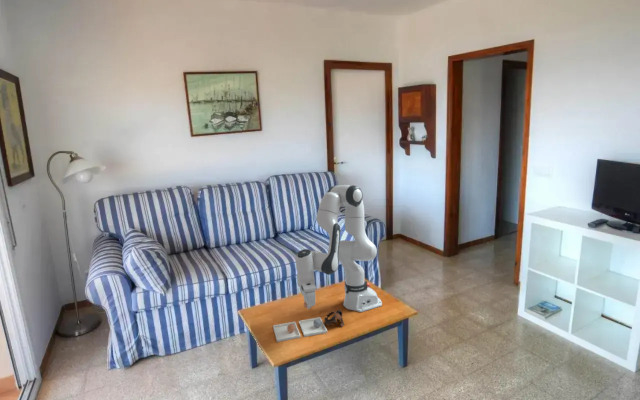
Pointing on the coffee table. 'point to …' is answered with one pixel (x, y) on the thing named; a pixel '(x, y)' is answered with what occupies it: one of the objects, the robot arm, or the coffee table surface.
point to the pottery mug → (334, 318)
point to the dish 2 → (312, 327)
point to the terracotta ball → (291, 328)
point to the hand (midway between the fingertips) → (307, 305)
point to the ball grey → (317, 323)
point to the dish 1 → (285, 332)
